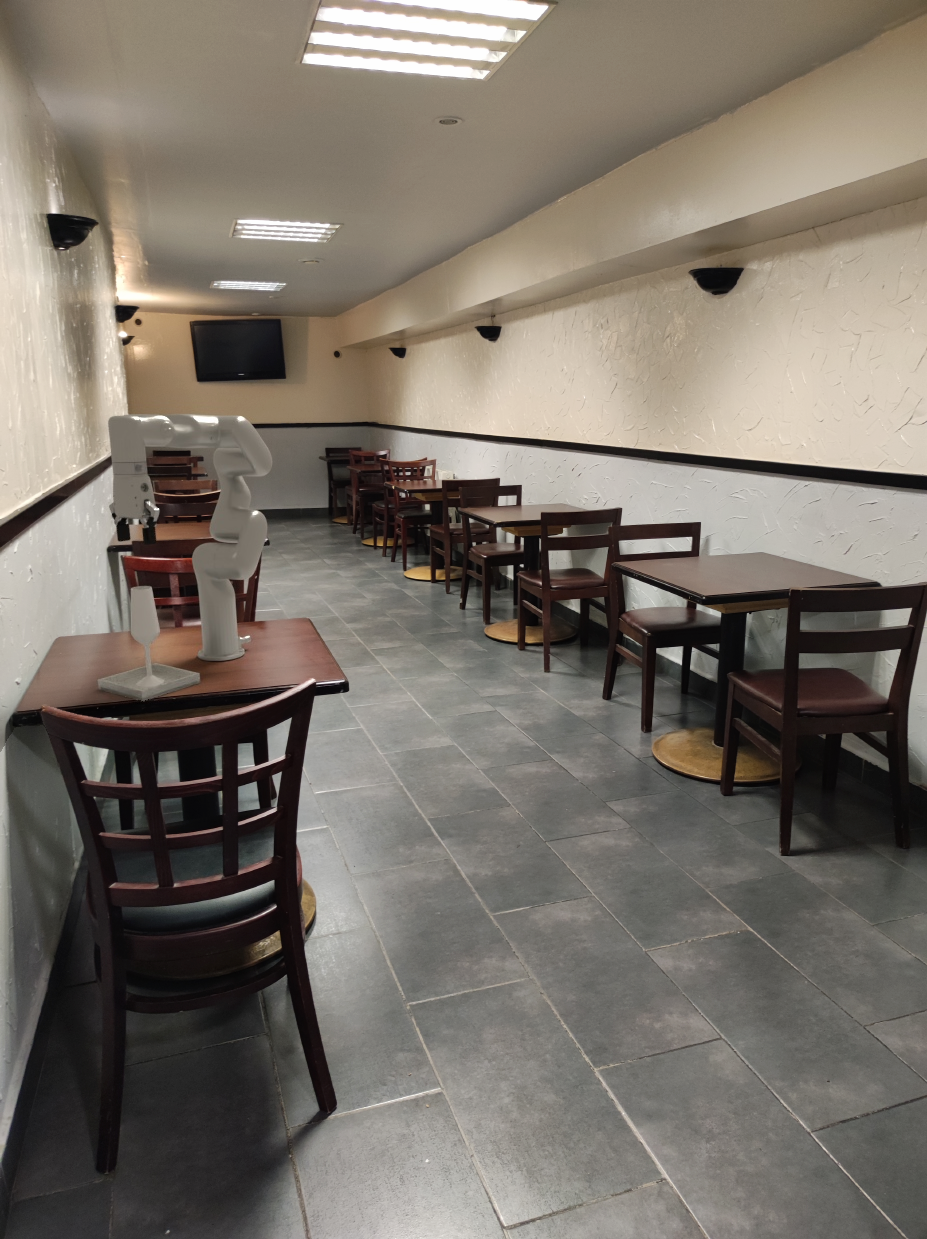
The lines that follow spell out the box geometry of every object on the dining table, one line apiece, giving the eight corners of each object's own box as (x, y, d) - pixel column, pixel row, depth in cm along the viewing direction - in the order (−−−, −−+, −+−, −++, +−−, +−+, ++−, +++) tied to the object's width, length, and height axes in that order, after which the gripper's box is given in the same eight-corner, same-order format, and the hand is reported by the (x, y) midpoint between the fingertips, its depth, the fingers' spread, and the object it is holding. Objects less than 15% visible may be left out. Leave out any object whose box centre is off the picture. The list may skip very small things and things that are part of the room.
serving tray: (156, 672, 222) (155, 662, 222) (200, 682, 213) (199, 673, 213) (98, 689, 208) (97, 679, 208) (142, 701, 199) (141, 691, 199)
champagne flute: (134, 687, 207) (124, 591, 201) (137, 679, 213) (128, 586, 207) (163, 685, 208) (154, 590, 203) (165, 677, 215) (157, 584, 209)
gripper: (167, 470, 197) (173, 543, 201) (121, 467, 206) (127, 537, 210) (139, 472, 191) (146, 547, 195) (93, 469, 200) (100, 541, 204)
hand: (137, 542), depth 203 cm, fingers open, 9 cm apart
